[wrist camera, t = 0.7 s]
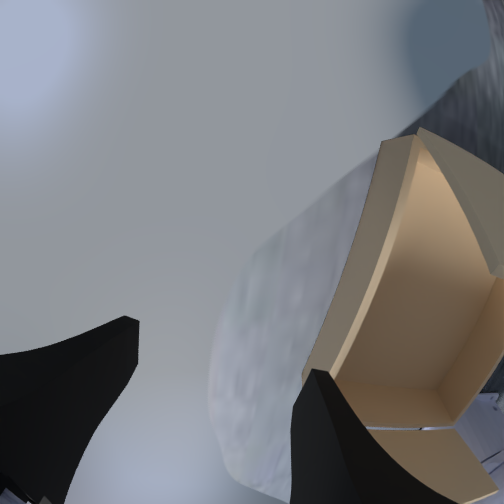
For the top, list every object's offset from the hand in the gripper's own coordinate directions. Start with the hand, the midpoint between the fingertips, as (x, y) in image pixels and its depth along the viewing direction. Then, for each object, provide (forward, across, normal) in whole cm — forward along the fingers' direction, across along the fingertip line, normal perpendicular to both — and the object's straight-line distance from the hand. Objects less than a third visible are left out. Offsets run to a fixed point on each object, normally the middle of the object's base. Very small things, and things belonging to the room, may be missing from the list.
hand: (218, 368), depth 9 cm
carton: (+10, -13, -1) cm, 17 cm away
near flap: (+1, -13, -8) cm, 15 cm away
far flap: (+1, -13, +7) cm, 15 cm away
